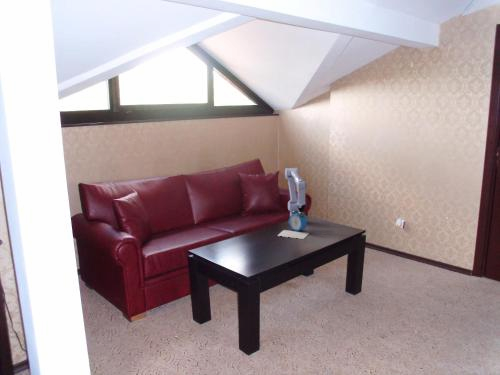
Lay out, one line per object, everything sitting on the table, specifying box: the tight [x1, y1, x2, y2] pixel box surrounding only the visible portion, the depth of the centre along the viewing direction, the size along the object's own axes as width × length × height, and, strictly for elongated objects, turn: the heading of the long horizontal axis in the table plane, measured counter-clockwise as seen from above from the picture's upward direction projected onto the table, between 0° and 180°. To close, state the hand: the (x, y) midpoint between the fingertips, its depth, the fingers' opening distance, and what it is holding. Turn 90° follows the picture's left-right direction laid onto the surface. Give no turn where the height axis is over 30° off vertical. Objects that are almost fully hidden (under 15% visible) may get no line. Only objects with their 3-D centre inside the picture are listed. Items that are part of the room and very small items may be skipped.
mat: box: [277, 229, 310, 240], centre depth 301 cm, size 14×20×1 cm
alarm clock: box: [288, 210, 308, 232], centre depth 310 cm, size 13×6×15 cm, turn 43°
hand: (301, 214), depth 316 cm, fingers closed
